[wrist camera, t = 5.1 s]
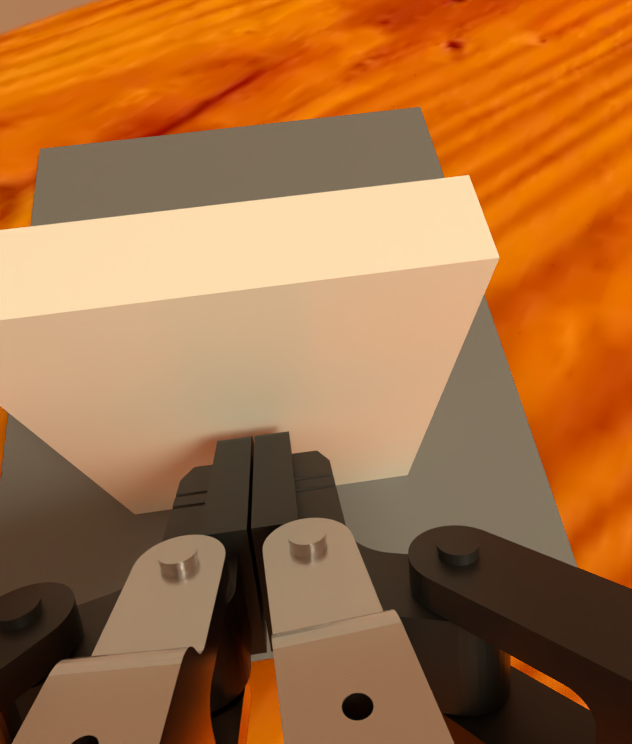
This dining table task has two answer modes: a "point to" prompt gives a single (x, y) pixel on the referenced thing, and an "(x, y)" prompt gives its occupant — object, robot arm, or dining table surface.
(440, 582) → the robot arm
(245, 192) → the mat
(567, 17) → the dining table surface
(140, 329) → the tile
